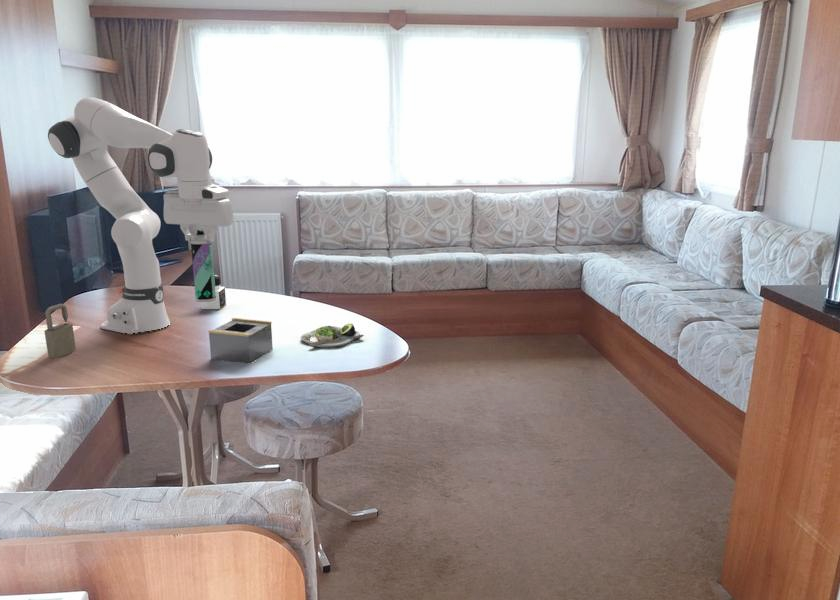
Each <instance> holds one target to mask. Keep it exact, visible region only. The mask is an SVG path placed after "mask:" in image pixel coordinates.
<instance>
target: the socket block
mask: <svg viewBox="0 0 840 600" xmlns="http://www.w3.org/2000/svg"><path fill="white" fill-rule="evenodd" d="M272 323H273V322H272V321H271V320H270V321H268V320H261V319H260V320H258V319H249V318H241V317H240V318H239V317H232V318H231V320H229V321H228V322H226V323H224V324H222V325H220V326H218V327H216V328H215V329H208V330H207V332H208V338H209V348H210V349H209V350H210V360H213V359H216V360H215V361H222V360H224V362H230V361H231V363H238V362H239V363H240V364H247V363H250V364H249V365H251V364H252V362H253V363H254V362H255V360H256V361H257V360H259V359H260V358H262V357H263V356H265V355H267V354H268V353H269V352H271V351H273V349H274V348H273V333H272V332H273V331H272ZM239 363H238V364H239Z"/></svg>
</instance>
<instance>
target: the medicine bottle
mask: <svg viewBox="0 0 840 600" xmlns="http://www.w3.org/2000/svg"><path fill="white" fill-rule="evenodd" d="M214 280H215V292H216V300H214V301H210V302H200V306H201V310H202V309H219V310H218V311H221V310H222V309H223V308H224V307H225V306H226V305H227V298H226V287H225V286H222V283H221V276H219V275H217V274H214ZM220 309H221V310H220Z"/></svg>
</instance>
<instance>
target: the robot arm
mask: <svg viewBox="0 0 840 600" xmlns="http://www.w3.org/2000/svg"><path fill="white" fill-rule="evenodd" d="M73 111H74V112H73V113H74V115H72V116H70V117H68V118H66V119H64V120H61V121H57V122H56V123H54V124H53V125H52V126H51V127H50V128H49V129H48V132H47V139H48V142H49V144H50V146H51V147H52V149H53V150H54V151H55V152H56V154H57V155H59V156H60V157H63V158H64V159H72V161H73V164H74V165H75V169H76V170H77V172H78V173H79V176H80V177H81V179H82V180H83V182H84V183H85V185H86V186H87V188H88V190H89V191H90V192H91V194H92V195H93V197H94V198H95V200H96V201H97V203H98V204H99V205H100V207H102V208H103V209H104V210H106V211H107V212H109V214H111V216H112V217H113V218H115V221H114V222H113V225H112V227H111V231H110V234H111V238H112V240H113V242H114V243H115V244H116V247H117V250H118V254H119V256H120V259H121V263H122V267H123V268H122V269H123V277H124V283H125V286H124V287H123V288H119V289H118V291H119V292H118V293H119V294H120V293H122V295H121V298H120V299H119V300H117V301H116V302H115V303H114V304H113V305H111V306H110V307H109V309H108V311H107V317H106V318H107V320H105V321H104V322H102V323H101V324H100V329H103V330H107V331H112V332H117V333H122V334H125V333H127V334H126V335H134V334H133V333H135V334H139V333H138V332H141V333H145V332H144V331H150V332H152V331H151V330H156V329H160V330H162V329H161V328H163V329H165V328H164V327H166V328H168V327H169V326H170V325H171V324H170V323H171V321H170V318H169V316H168V313H167V309H166V306H165V302H164V297H165V296H164V294H165V293H164V285H163V283H162V279H161V269H160V262H159V259H158V257H157V255H156V253H155V249H154V245H153V239H155V238H156V237H157V236H158V234H159V232H160V230H161V224H162V223H161V222H162V221H161V218H160V217H159V215H158V214H157V213H156V212H154V211H153V210H152V209H151V208H150V207H149V206H148V205H147V203H146V202H145V201H144V199H142V198H141V197H140V196H139V194H138V193H137V192H136V191H135V189H134V188H133V187H132V186H131V185H130V183H129V181H128V180H127V178H126V177H125V176H124V174H123V173H122V171H121V169H120V168H119V167H118V165H117V164H116V162H115V160H114V159H113V158H112V156H111V155H110V153H109V152H108V146H110V147H112V148H113V147H114V148H118V149H149V150H148V154H147V162H148V166H149V168H150V170H151V172H152V173H153V174H154V175H155V176H157V177H159V178H164V179H165V178H166V179H167V178H176V180H177V182H176V183H177V189H178V190H173V189H168V190H167V191H166V192H164V194H163V220H164V222H165V224H167V225H179V226H180V230H181V232H182V233H183V234H184V239H185V240H184V241H188V242H191V239H192V238H193V237H194V233H191V232H190V229H189V228H190V226H201V227H202V226H204V227H206V226H208V230H209V231H210V232H209V233H208V235H207V234H206V238H207V242H211V243H213V242H215V241H216V237H215V236H216V234H217V231H218V229H219V228H218V227H220V228H221V227H229V226H231V225H232V224H233V222H234V214H233V207H232V202H231V200H230V199H229V196H230V190H228V189H227V188H225V187H222V186H220V185H217V184H215V183H213V182H212V176H211V173H210V169H211V167H212V163H213V155H212V151H211V150H210V148H209V144H208V141H207V137H206V135H205V134H204V133H203V132H202V131H200V130H198V129H197V130H196V129H188V128H179V129H176V130H175V131H174V132H171V131H169V130H167V129H165V128H163V127H160V126H158V125H156V124H153V123H152V122H148V121H147V120H144V119H142V118H139V116H138V117H137V116H136V115H134V114H132V113H130V112H128V111H126V110H124V109H122V108H120V107H119V106H117V105H116V104H113V103H111V102H109V101H106V100H103V99H101V98H97V97H93V96H87V97H84V98H81V99H80V100H79V101H78V102H77V103H76V104H75V106H74V109H73ZM168 325H169V326H168ZM167 326H168V327H167ZM156 331H157V330H156Z"/></svg>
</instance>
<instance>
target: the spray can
mask: <svg viewBox="0 0 840 600" xmlns="http://www.w3.org/2000/svg"><path fill="white" fill-rule="evenodd" d="M206 236H207V234H206V233H205V231H204V229H197V230H196V234H195V236H193V238H192V239H191V241H190V249H191V257H192V258H191V259H192V271H193V272H192V273H193V280H194V281H193V282H194V284H193V285H194V292H195V293H194V295H195V301H196V302H198V303H201V302H210V301H214V300H216V292H215V280H214V275H215V272H214V271H215V270H214V256H213V246H212V245H213V244H212V243H213V242H207V238H206Z"/></svg>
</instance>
